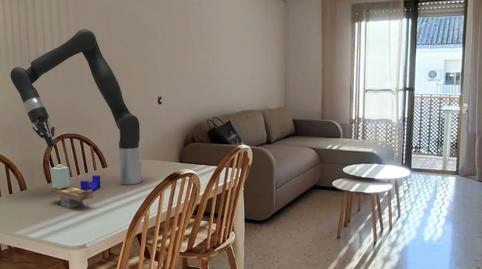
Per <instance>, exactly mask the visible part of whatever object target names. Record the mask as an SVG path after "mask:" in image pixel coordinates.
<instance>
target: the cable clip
mask: <svg viewBox="0 0 482 269" xmlns="http://www.w3.org/2000/svg"><path fill="white" fill-rule="evenodd" d="M79 182H80V183H79V184H80V189H81V190H84V191H87V190H92V193H94V192H96V191H97V190H99V189H101V185H102V184H101V175H99V174H98V175H95V174H94V175H92V179H91V181H89V180H80V181H79Z"/></svg>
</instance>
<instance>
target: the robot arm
mask: <svg viewBox="0 0 482 269" xmlns="http://www.w3.org/2000/svg"><path fill="white" fill-rule="evenodd" d="M81 53H82V56H84V58H85V60H86V61H87V64H88V67H89V70H90V73H91V76H92V77H93V81H94V83H95V85H96V87H97V89H98V91H99V93H100V95H101V97H102V98H103V99H104V101H105V103H106V105H107V106H108V107H109V110H110V111H111V114H112V117H113V119H114V123H115V125H116V126H117V129H118V130H119V141H118V153H119V154H118V155H119V156H118V157H119V158H118V159H119V175H120V176H119V178H120V184H121V185H137V184H139V183H141V182H142V181H143V176H142V162H141V161H140V147H139V146H140V138H141V137H140V136H141V135H140V121H139V118H138V117H137V116H136V115H134V114H132V113H131V111H130V110H129V109H128V107H127V105H126V102H125V101H124V97H123V93H122V90H121V86H120V84H119V81H118V80H117V78H116V76H115V73H114V71H113V70H112V68H111V66H110V65H109V64H108V62H107V60H106V58H104V56H103V53H102V51H101V49H100V47H99V43H98V42H97V38H96V35H95V33H93V31H91V30H89V29H88V28H83V29H79V30H77V31H76V33H75V34H74V35H73V36H72V37H71V38H69V39H68V40H67V41H65V42H64V43H62V44H61V45H59V46H57V47H55V48H53V49H51V50H49V51H48V52H45V53H44V54H42V55H40V56H39V57H37V58H35V59H33V60H32V61H31V62H30V66H29V67H28V68H27V69H25V68H23V67H20V66H16V67H14V68H12V69H11V71H10V73H9V74H10V76H9V77H10V80H11V82H12V84H13V86H14V87H15V89H16V91H17V92H18V94H19V95H20V99H21V101H22V103H23V105H24V110H25V111H26V114H27V117H28V119H29V121H30V124H34V126H33V127H32V130H33V131H34V132H35V133H36V134H37V135H38V136H39V137H40V138H41V139H43V140H45V142H46V144H47V147H48V148H53V147H55V142H54V140H53V137H55V130H56V129H55V127H54V126H51V125H50V122H49V121H48V120H49V117H50V115H49V114H48V111H47V109H46V106H45V104H44V102H43V100H42V98H41V96H40V94H39V92H38V90H37V89H36V87H35V86H34V85H33V84H34V83H35V82H37V80H39V78H41V76H43V75H44V74H46V73H49V71H51V70H54V69H55V68H56V67H58V66H59V65H61V64H62V63H63V62H65V61H66V60H68V59H70V58H71V57H74V56H77V55H78V54H81Z"/></svg>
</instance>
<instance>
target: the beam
mask: <svg viewBox="0 0 482 269" xmlns="http://www.w3.org/2000/svg"><path fill="white" fill-rule="evenodd" d="M49 190H50V194H53V195H56V196H59V198H60V206H61V207H65V208H67V209H72V208H76V207H79V206H82V205H83V204H84V203H83V201H85V200H88V199H89V200H90V199H93V198H94V196H93V195H94V194H93V193H94V192H92V190H87V191H84V190H81V188H76V187H71V186H70V187H66V188H61V189H57V188H53V187H51V188H50V189H49Z"/></svg>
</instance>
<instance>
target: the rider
mask: <svg viewBox="0 0 482 269" xmlns="http://www.w3.org/2000/svg"><path fill="white" fill-rule="evenodd" d="M50 176H51V188H57V189H61V188H66V187H71V181H70V179H71V178H70V167H68V166H65V165H64V166H63V164H57V165H56V166H55V167H54V166H53V167H51V168H50Z"/></svg>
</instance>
